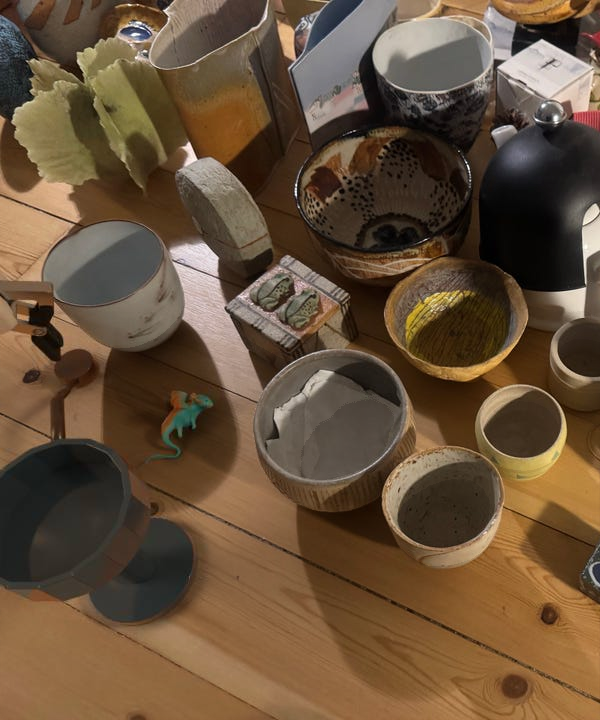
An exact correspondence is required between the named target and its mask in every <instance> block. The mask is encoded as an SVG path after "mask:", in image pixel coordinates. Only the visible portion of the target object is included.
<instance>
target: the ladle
mask: <svg viewBox="0 0 600 720" xmlns="http://www.w3.org/2000/svg"><path fill="white" fill-rule="evenodd" d="M53 371H54V375H55V376H56V377H57V379H59V380H60V381H61V382H62V384H64V386H63V387H62V388H61V389H60V390H59V391H58V392H57V393H55V394H54V396H53V397H51V398H50V400H49V419H50V420H49V423H50V442H52V441H54V440H57V439H61V438H66V437H67V435H66V406H65V399H66V398H67V397H68V396H70V394H71V393H72V392H73V391H74V390H75V389H80V388H85V387H87V386H88V385H90V384H91V383H93V382H94V381H95V380H96V378H97V377H98V376H99V374H100V371H101V365H100V363H99V361H98V360H97V359H96V358H95V357H94V355H93V354H92V353H91V352H90V351H89V350H87V349H84V348H74V349H71V350H68V351H66V352H65V353H63V354H61V360H60V361H57V362H55V364H54V366H53Z"/></svg>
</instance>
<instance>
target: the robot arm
mask: <svg viewBox="0 0 600 720" xmlns="http://www.w3.org/2000/svg"><path fill="white" fill-rule="evenodd" d="M25 301H35V302H36V303H35V304H34V303H29V302H25ZM18 315H20V316H26V317H28V320H25V319H21V318H18ZM54 315H55V287H54V284H53V282H51V281H44V280H43V281H38V280H9V278H7V277H6V276H5V275H4V274H3V273H2V272H1V271H0V336H2V335H4V334H7V333H9V332H14V333H15V332H16V333H20V334H25V335H30V339H31V343H32V344H33V345H34V346H35V347H36V348H38V350H39V351H40V352H41V353H43V354H44V355H45V356H46V357H47V358H48V359H49V360H50V361H51V362H54V363H56V362H57V361H60V360H61V356H62V348H63V347H64V346H65V342H64V337H63V334H62V333H61V332H60V331H59V330H58V329H57V328H56V327H55V326H54V325H53V324H52V322H51V321H52V319H53V317H54Z"/></svg>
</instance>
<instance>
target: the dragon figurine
mask: <svg viewBox="0 0 600 720" xmlns="http://www.w3.org/2000/svg"><path fill="white" fill-rule="evenodd" d="M170 392H171V393H170V394H171V395H170V406H171V407H172V406H173V409H172V410H171V411H170V412H169V414H168V415H167V417H165V419H164V421H163V422H162V424H161V429H160V431H161V432H160V435H161V438H162V441H163V442H164V443H165V444H166V445H167V446H169V447H170V448H172V449H175V450H176V451H177V453H176V454H175V455H165V454H164V455H163V454H155V455H152V456H150V457H149V458H148V459H147V460H146V462H145V464H148V462H150V460H152V459H154V458H158V457H161V458H165V459H167V458H168V459H175V458H178V457H179V456H180V454H181V449H180V447H179V446H177V445H176V444H175V443H173V442H172V441H171V440H170V435H171V433H172V432H173V431H174V430H176V432H177V436H178V438H180V439H182V437H183V428H185V429H186V428H189V427H191V430H195V429H196V428H197V426H196V420H197V419H198V415H200V414H201V413H202V412H203V411H205V410H209V409H211V408H212V407H213V406H214V403H213V400H212V399H211V398H210V397H208V396H207V395H204V394H196V393H195V392H192V393H191V394H189V396H190V397H189V398H188V399H189V402H187V403H186V401H187V396H188V393H187V392H184V391H180V390H171V391H170Z"/></svg>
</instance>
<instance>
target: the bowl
mask: <svg viewBox="0 0 600 720" xmlns="http://www.w3.org/2000/svg"><path fill="white" fill-rule="evenodd" d="M151 513H152V506H151V500H150V493H149V486H148V484H147V483H146V481H145V480H144V479H143V477H142V476H141V475H140V474H139V472H138V471H137V470H136V468H135V467H134V466H133V465H132V464H131V463H130V462H129V461H128V460H126V458H124V456H122V455H121V454H120V453H119V452H118V451H116V449H114V447H111V446H108V445H106V444H104V443H102V442H99V441H97V440H94V439H93V438H90V437H89V438H88V437H86V438H83V437H82V438H78V437H76V438H75V437H73V438H68V437H67V438H61V439H57V440H54V441H52V442H51V441H49V442H46V443H42V444H39V445H37V446H34V447H31V448H29V449H27V450H26V451H24V452H23V453H22V454H20V455H18V456H17V457H16V458H15V459H13V460H12V461H10V462H8V463H7V464H6V465H4V466H3V467H2V468H1V469H0V587H1V588H2V589H4V590H6V591H9V592H11V593H14V594H16V595H19V596H20V597H23V598H25V599H28V600H30V601H32V602H67V601H71V600H73V599H76V598H80V597H82V596H86V595H88V598H89V601H90V603H91V605H92V607H93V608H94V609H95V611H96V612H97V613H98V614H99V615H101V616H102V617H103V618H105V619H107V620H108V621H111V622H114V623H116V624H119V625H122V626H141V625H146V624H149V623H152V622H154V621H157V620H158V619H161V618H162V617H164V616H165V615H167V614H168V613H170V612H171V611H173V610H174V609H175V608H176V607H177V606H178V605H179V604H180V603H181V602H182V601H183V599H184V598H185V597H186V595H188V593H189V591H190V589H191V587H192V585H193V583H194V581H195V578H196V574H197V570H198V563H199V562H198V561H199V559H198V558H199V557H198V551H197V546H196V544H195V541H194V539H193V538H192V536H191V535H190V534H189V533H188V532H187V531H186V530H185V528H183V527H182V526H180V525H179V524H178V523H176V522H174V521H173V520H169V519H167V518H163V517H162V518H161V517H151Z"/></svg>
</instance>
